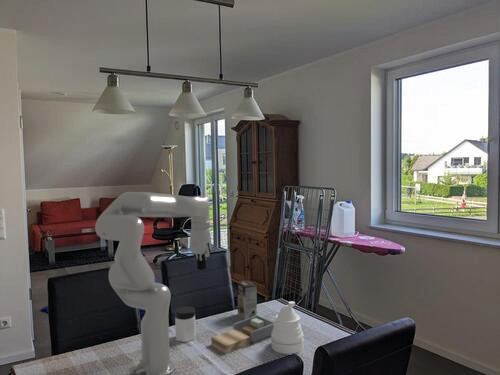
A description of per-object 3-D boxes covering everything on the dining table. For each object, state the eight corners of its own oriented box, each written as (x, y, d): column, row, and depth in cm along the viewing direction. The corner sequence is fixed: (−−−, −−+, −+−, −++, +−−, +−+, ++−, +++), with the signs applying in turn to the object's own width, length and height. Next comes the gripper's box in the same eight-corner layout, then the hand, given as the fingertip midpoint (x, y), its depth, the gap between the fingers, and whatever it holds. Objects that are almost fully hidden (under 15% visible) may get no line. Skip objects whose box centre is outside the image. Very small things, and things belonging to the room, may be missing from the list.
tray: (251, 344, 159) (251, 332, 159) (233, 335, 169) (233, 323, 168) (276, 334, 169) (276, 322, 168) (257, 325, 178) (257, 315, 177)
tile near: (249, 338, 163) (249, 331, 163) (241, 334, 167) (241, 327, 167) (258, 334, 167) (258, 328, 166) (250, 331, 170) (250, 324, 170)
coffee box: (237, 314, 192) (236, 281, 191) (249, 311, 195) (248, 279, 194) (245, 320, 184) (244, 286, 183) (257, 318, 187) (256, 284, 186)
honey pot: (305, 340, 162) (305, 297, 161) (301, 355, 150) (300, 309, 149) (275, 337, 166) (274, 295, 164) (268, 352, 153) (267, 306, 152)
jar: (180, 344, 161) (179, 315, 161) (172, 337, 168) (171, 309, 167) (199, 338, 166) (199, 310, 165) (191, 331, 173) (190, 304, 172)
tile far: (258, 323, 166) (263, 321, 168) (250, 319, 170) (255, 318, 172) (258, 334, 167) (263, 332, 169) (250, 331, 170) (256, 329, 172)
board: (226, 353, 152) (226, 346, 152) (211, 344, 160) (211, 337, 160) (250, 343, 160) (250, 336, 160) (234, 336, 168) (234, 329, 168)
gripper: (183, 224, 168) (184, 267, 169) (202, 228, 157) (204, 274, 158) (198, 222, 173) (199, 264, 174) (218, 226, 162) (219, 270, 163)
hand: (201, 269), depth 166 cm, fingers closed
